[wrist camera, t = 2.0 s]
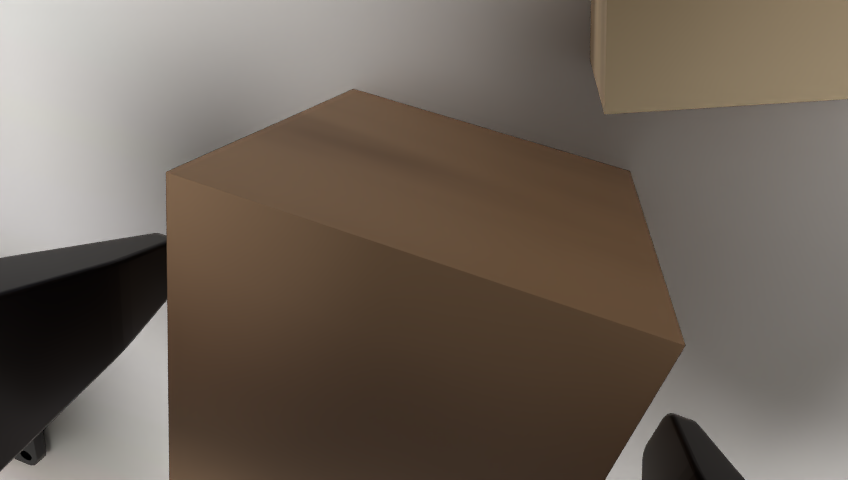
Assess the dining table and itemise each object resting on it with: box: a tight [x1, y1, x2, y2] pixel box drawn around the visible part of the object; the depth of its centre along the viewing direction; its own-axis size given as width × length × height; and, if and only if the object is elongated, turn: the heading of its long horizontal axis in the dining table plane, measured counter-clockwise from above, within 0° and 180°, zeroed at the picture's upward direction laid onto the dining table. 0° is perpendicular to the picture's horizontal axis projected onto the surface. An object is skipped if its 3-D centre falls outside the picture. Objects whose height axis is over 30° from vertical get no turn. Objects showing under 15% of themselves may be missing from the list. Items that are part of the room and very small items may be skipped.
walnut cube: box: [166, 89, 685, 480], centre depth 10 cm, size 6×6×6 cm
